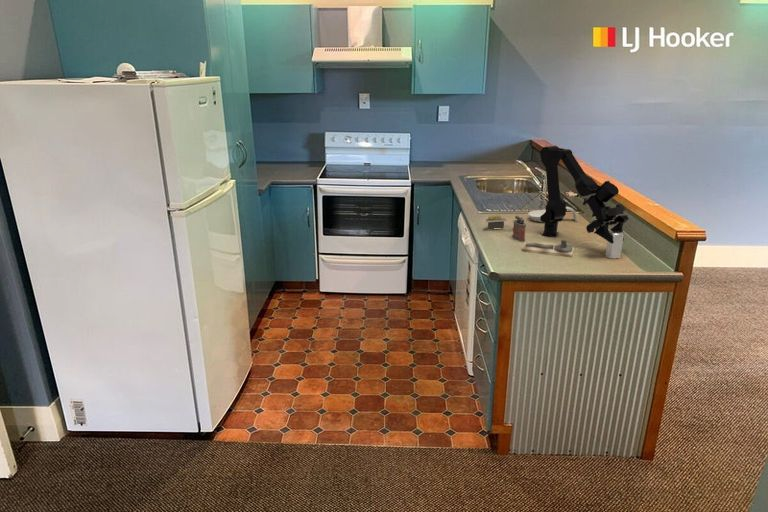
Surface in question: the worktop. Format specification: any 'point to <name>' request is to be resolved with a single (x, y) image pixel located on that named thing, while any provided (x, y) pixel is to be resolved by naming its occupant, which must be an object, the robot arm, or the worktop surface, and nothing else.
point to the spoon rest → (536, 214)
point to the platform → (495, 222)
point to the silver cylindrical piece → (615, 245)
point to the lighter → (519, 229)
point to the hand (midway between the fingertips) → (617, 241)
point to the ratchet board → (549, 248)
